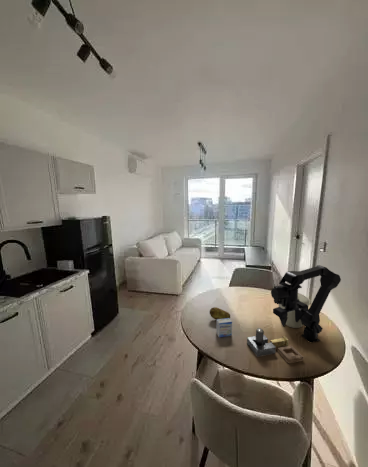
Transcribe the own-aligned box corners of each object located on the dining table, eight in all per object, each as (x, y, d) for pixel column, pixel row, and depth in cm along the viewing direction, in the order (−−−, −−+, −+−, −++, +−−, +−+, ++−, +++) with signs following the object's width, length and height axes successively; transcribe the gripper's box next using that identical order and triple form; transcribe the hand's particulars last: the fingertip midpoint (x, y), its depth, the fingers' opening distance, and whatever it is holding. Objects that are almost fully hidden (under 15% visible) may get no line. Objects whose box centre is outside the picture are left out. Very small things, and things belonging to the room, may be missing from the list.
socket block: (263, 340, 115) (264, 334, 115) (275, 353, 106) (275, 347, 105) (247, 343, 113) (247, 337, 113) (257, 356, 104) (257, 350, 103)
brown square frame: (291, 349, 109) (291, 345, 108) (303, 360, 101) (303, 356, 101) (277, 351, 107) (277, 348, 107) (288, 363, 99) (288, 359, 99)
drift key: (284, 341, 114) (284, 335, 113) (288, 345, 111) (288, 339, 110) (269, 344, 112) (269, 338, 112) (272, 348, 109) (273, 342, 108)
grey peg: (260, 345, 111) (261, 327, 110) (264, 350, 108) (265, 331, 106) (253, 346, 111) (254, 328, 109) (257, 351, 107) (258, 332, 105)
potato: (229, 325, 129) (229, 313, 128) (208, 321, 133) (208, 310, 132) (230, 318, 137) (231, 306, 136) (211, 315, 141) (211, 303, 140)
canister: (313, 333, 121) (316, 299, 117) (279, 330, 124) (281, 296, 121) (302, 316, 138) (305, 286, 135) (272, 313, 142) (274, 284, 138)
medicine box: (218, 337, 118) (219, 323, 117) (216, 332, 122) (216, 319, 121) (232, 335, 120) (232, 321, 118) (228, 331, 124) (229, 317, 123)
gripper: (291, 287, 119) (290, 312, 122) (265, 293, 113) (264, 320, 115) (309, 295, 109) (308, 322, 112) (282, 303, 102) (280, 332, 105)
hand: (290, 324), depth 111 cm, fingers open, 9 cm apart
